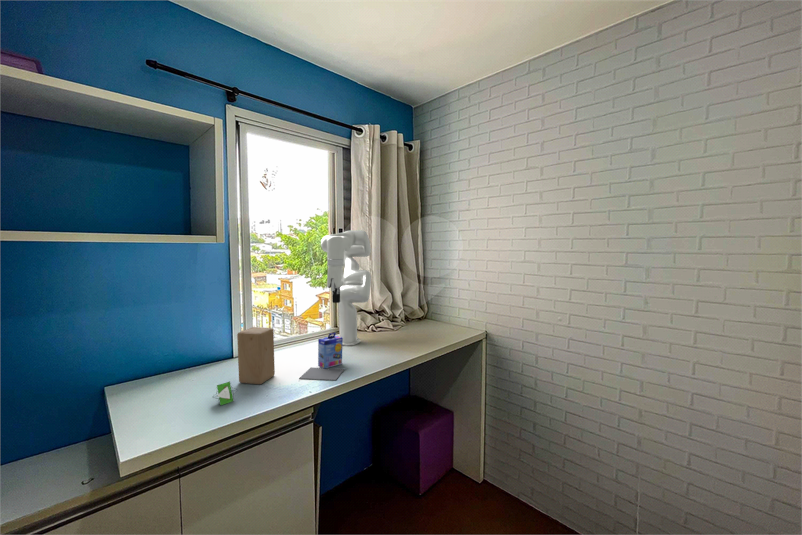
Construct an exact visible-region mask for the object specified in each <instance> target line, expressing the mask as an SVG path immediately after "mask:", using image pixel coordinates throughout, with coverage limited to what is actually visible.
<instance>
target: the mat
mask: <svg viewBox="0 0 802 535" xmlns="http://www.w3.org/2000/svg"><path fill="white" fill-rule="evenodd" d="M344 371H345V368H333V367H329V368H325V369H324V368H322V367H310V368H309V369H308V370H306V371H305V372H304V373H303V374H302V375H301V376H300V377H299V378H298V379H299V380H309V381H310V380H311V381H312V380H314V381H335V382H336V381H337V380H338V379H339V377H340V376H341V375H342V374H343V373H344Z"/></svg>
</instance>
